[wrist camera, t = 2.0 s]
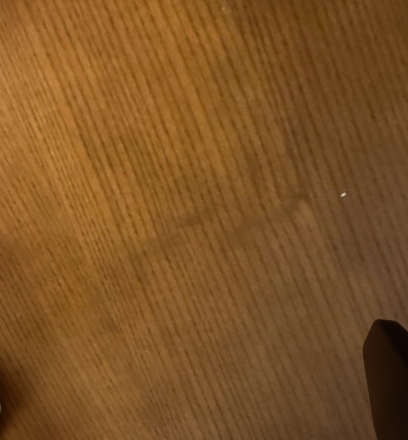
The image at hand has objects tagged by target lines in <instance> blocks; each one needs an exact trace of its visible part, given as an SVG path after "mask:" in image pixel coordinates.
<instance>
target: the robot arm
mask: <svg viewBox="0 0 408 440" xmlns="http://www.w3.org/2000/svg"><path fill="white" fill-rule="evenodd" d="M363 359H364V366H365V372H366V379H367V385H368V392H369V399H370V405H371V412H372V418H373V423H374V428H375V432H376V437H377V440H408V331H407V330H406V329H405V328H404V327H402V326H401V325H400V324H399V323H398V322H396V321H392V320H383V319H377V320H375V321H374V322H373V324H372V326H371V329H370V331H369V333H368V335H367V338H366V340H365V342H364V345H363Z"/></svg>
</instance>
